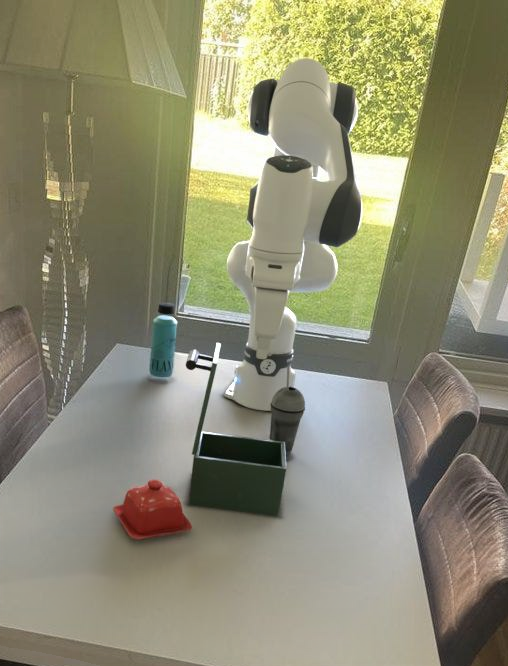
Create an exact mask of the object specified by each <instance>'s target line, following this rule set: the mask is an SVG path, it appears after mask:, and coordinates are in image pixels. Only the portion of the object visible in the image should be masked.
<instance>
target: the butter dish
mask: <svg viewBox="0 0 508 666" xmlns="http://www.w3.org/2000/svg"><path fill="white" fill-rule="evenodd" d="M112 510H113V512H114V513H115V516H116V517H117V518H118V520H119V522H120V524H121V525H122V526H123V528H124V530H125V531H126V533H127V534H128V536H129V537H130V538H132V539H133V540H142V539H149V538H153V537H161V536H166V535H171V534H178V533H183V532H189V531H191V530H193V525H192V523H191V522H190V520H189V519H188V517H187V516H186V515H185V514H184V511H183V505H182V501H181V499H180V498H179V496H178V495H177V493H176V492H175V491H174V490H173V488H171V487H170V486H167V485H165V484H163V482H162V481H161V480H159V479H154V478H153V479H149V480H148V481H147V484H143V485H137V486H134V487H132V488H130V489H128V490H127V491H126V493H125V496H124V500H123V503H122V504H118V505H115V506H113V509H112Z"/></svg>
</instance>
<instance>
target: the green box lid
mask: <svg viewBox="0 0 508 666" xmlns="http://www.w3.org/2000/svg"><path fill="white" fill-rule="evenodd" d="M221 347H222V343H221V342H216V343H215V348H214V353H213V356H210V355H205V354H201V353H200V352H199V351H198V350H197V349H191V350H190V351H189V352H188V355H187V357H186V362H185V368H186V369H187V370H189V371H193V370H195V369H199V370H204V371H208V372H209V375H208V380H207V383H206V388H205V391H204V392H205V393H204V396H203V402H202V406H201V411H200V415H199V418H198V422H197V427H196V432H195V436H194V442H193V446H192V452H191V455H193V456H194V455H196V453H197V449H198V445H199V441H200V436H201V432H203V427H204V423H205V418H206V415H207V409H208V405H209V401H210V398H211V397H210V396H211V393H212V388H213V383H214V380H215V375H216V371H217V367H218V362H219V357H220V353H221V352H220V351H221ZM198 360H203V361H207V362H211V365H209V364H205V363H204V364H203V363H199V362H198Z"/></svg>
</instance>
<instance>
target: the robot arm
mask: <svg viewBox="0 0 508 666" xmlns="http://www.w3.org/2000/svg"><path fill="white" fill-rule="evenodd" d="M358 113H359V103H358V98H357V92H356V90H355V88H354V86H351V85H349V84H347V83H343V82H338V83H335V82H331V81H330V77H329V74H328V72H327V70H326V68H325V67H324V65H322V64H321V62H319V61H318V60H316V59H313V58H301V59H297V60H295V61H293V62H291V63H290V64H289V65H288V66H287V67H286V68H285V69H284V70H283V72H282V73H281V76H280V78H279V79H275V78H268V79H263V80H260V81H259V82H257V84H255V85H254V87H253V90H252V91H251V94H250V96H249V99H248V103H247V118H248V122H249V127H250V129H251V130H252V132H253V133H254V134H256V135H258V136H260V137H264V138H268V137H270V139H271V141H272V142H273V145H274V147H273V153H272V156H270V157H268V158H267V159H266V160H265V161H264V162H263V165H262V168H261V171H260V176H259V180H258V182H256V183H255V185H253V186H252V187H251V188H250V190H249V199H248V208H247V209H248V210H247V214H246V215H247V216H246V222H247V223H248V224H249V225H250V227H251V228H252V235H251V237H250V239H249V240H247V241H240V242H237V243H236V244H235V245H234V246H233V247H232V249H231V250H230V252H229V254H228V257H227V260H226V269H227V274H228V277H229V279H230V281H231V282H232V283H233V284H234V285H235V287H237V288H238V290H239V291H240V292H241V293H242V295H243V296H244V298H245V300H246V302H247V305H248V309H249V327H248V328H249V329H248V336H247V342H246V344H245V348H244V350H243V361H242V362H241V363H239V364H238V365H236V366H235V368H234V378H233V381H232V383H231V384H230V386H229V387H228V388H227V389H226V391H225V393H224V397H225V398H227V399H230V400H232V401H234V402H236V403H238V404H239V405H242V406H243V407H246V408H249V409H252V410H256V411H257V410H258V411H268V412H271V405H270V404H271V402H272V398H273V396H274V395H275V393H276V392H277V391H278V390H280V389H281V388H284V387H286V385H287V367H288V366H290V375H289V387H294V388H295V385H296V384H295V383H296V377H297V375H296V372H295V370H294V369H293V368H292V363H293V359H294V352H295V351H294V349H293V348H294V347H293V346H294V341H295V336H296V330H297V323H298V322H297V317H296V315H295V314H294V312H293V311H291V309H289V308H288V307H287V303H288V299H289V294H290V293H302V294H303V293H304V294H308V293H309V294H310V293H318V292H322V291H323V292H324V291H326V290H328V288H330V286H331V285H332V284H333V283H334V281H335V279H336V277H337V272H338V262H337V258H336V255H335V253H334V252H333V251H332V250H331V248H329V247H333V248H339V247H341V246H343V245H345V244H347V243H348V242H349V241H351V240H352V239H353V238H355V236H356V235H357V233H358V231H359V229H360V226H361V223H362V219H363V201H362V194H361V191H360V189H359V186H358V183H357V178H356V171H355V165H354V159H353V154H352V153H353V152H352V146H351V141H350V138H349V137H350V136H349V135H351V131H352V130H353V128H354V126H355V124H356V122H357V120H358ZM321 169H322V170H324V171H325V173H326V175H327V180H320V176H321Z"/></svg>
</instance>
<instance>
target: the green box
mask: <svg viewBox="0 0 508 666" xmlns="http://www.w3.org/2000/svg"><path fill="white" fill-rule="evenodd" d="M191 468H192V470H191V479H190V488H189V496H188V505H190V506H198V507H205V508H206V507H207V508H214V509H220V510H228V511H235V512H244V513H250V514H259V515H266V516H273V517H274V516H275V517H279V513H280V507H281V503H282V496H283V491H284V485H285V481H286V474H287V460H286V453H285V442H281V441H273V440H270V439H264V438H256V437H249V436H241V435H232V434H225V433H216V432H208V431H202V432H201V436H200V441H199V445H198V449H197V453H196V455H193V459H192V467H191Z"/></svg>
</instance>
